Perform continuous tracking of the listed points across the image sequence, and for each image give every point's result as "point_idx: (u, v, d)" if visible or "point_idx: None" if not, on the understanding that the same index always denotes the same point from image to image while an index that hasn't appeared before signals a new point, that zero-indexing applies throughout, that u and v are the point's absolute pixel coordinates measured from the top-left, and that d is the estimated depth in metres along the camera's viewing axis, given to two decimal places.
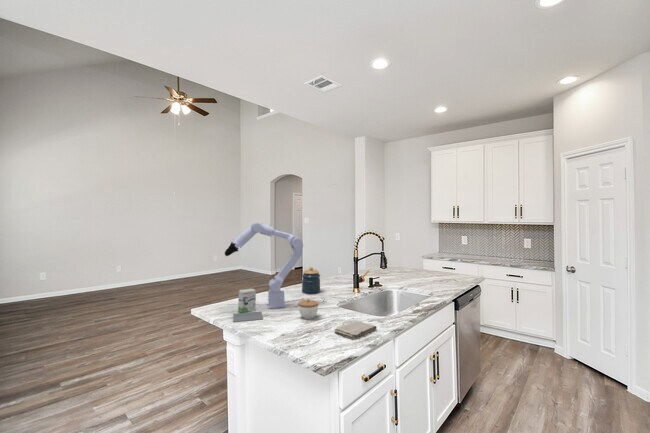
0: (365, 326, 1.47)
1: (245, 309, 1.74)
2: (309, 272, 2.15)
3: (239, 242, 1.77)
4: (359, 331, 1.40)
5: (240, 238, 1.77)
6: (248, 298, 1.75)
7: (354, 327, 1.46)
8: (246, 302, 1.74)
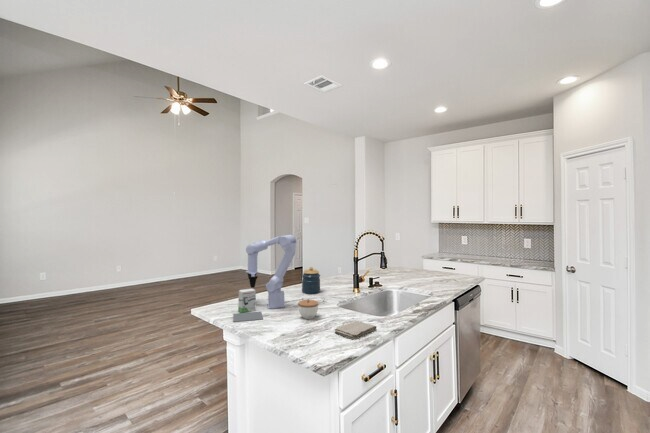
0: (365, 326, 1.47)
1: (245, 309, 1.74)
2: (309, 272, 2.15)
3: (252, 270, 1.89)
4: (359, 331, 1.40)
5: (250, 267, 1.89)
6: (249, 298, 1.75)
7: (354, 327, 1.46)
8: (246, 302, 1.74)
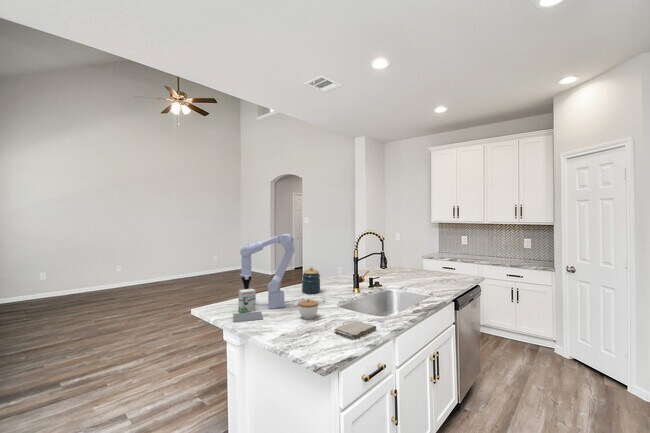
0: (365, 326, 1.47)
1: (245, 309, 1.74)
2: (309, 272, 2.15)
3: (246, 273, 1.84)
4: (359, 331, 1.40)
5: (244, 269, 1.84)
6: (249, 298, 1.75)
7: (354, 327, 1.46)
8: (246, 302, 1.74)
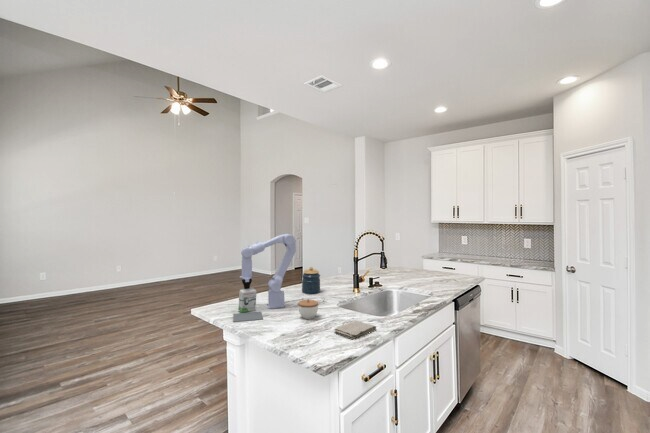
0: (365, 326, 1.47)
1: (245, 309, 1.74)
2: (309, 272, 2.15)
3: (246, 275, 1.77)
4: (359, 331, 1.40)
5: (244, 272, 1.77)
6: (249, 298, 1.75)
7: (354, 327, 1.46)
8: (246, 302, 1.74)
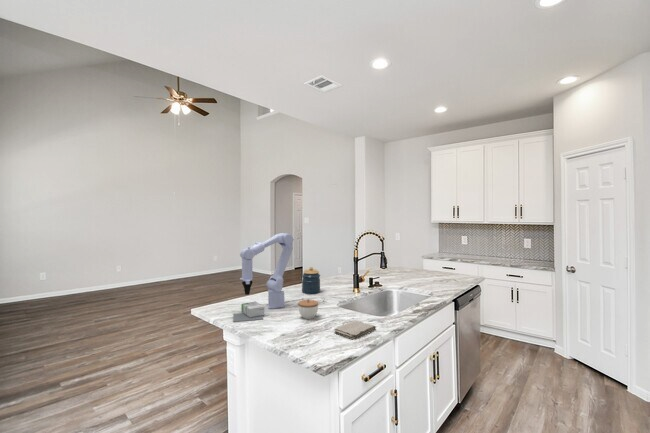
0: (364, 326, 1.47)
1: None
2: (309, 272, 2.15)
3: (247, 277, 1.72)
4: (358, 331, 1.40)
5: (244, 273, 1.72)
6: None
7: (353, 327, 1.46)
8: None
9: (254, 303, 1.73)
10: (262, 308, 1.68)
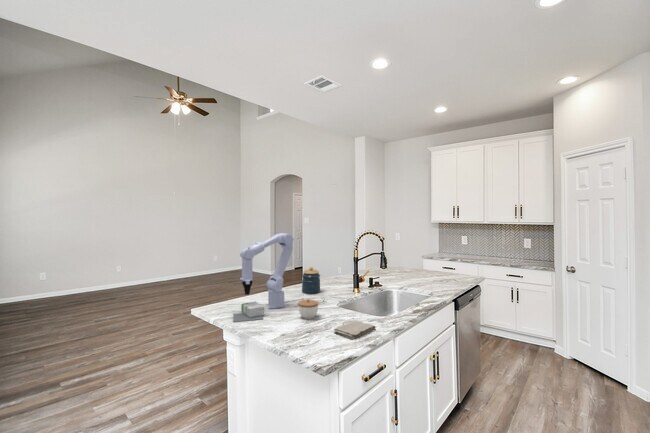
0: (364, 326, 1.47)
1: None
2: (309, 272, 2.15)
3: (247, 277, 1.72)
4: (358, 331, 1.40)
5: (244, 273, 1.72)
6: None
7: (353, 327, 1.46)
8: None
9: (254, 303, 1.73)
10: (262, 308, 1.68)
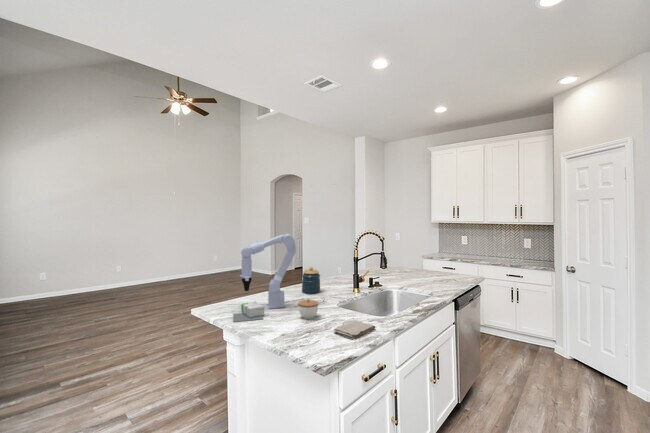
0: (364, 326, 1.47)
1: None
2: (309, 272, 2.15)
3: (246, 274, 1.80)
4: (358, 331, 1.40)
5: (244, 271, 1.80)
6: None
7: (353, 327, 1.46)
8: None
9: (254, 303, 1.73)
10: (262, 308, 1.68)
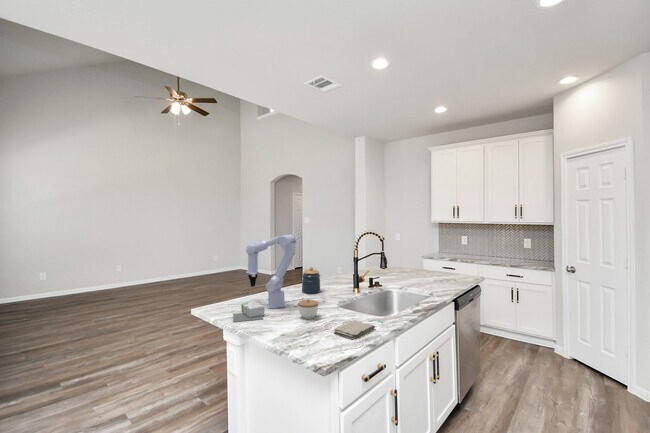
0: (364, 326, 1.47)
1: None
2: (309, 272, 2.15)
3: (252, 270, 1.89)
4: (358, 331, 1.40)
5: (250, 267, 1.89)
6: None
7: (353, 327, 1.46)
8: None
9: (254, 303, 1.73)
10: (262, 308, 1.68)
